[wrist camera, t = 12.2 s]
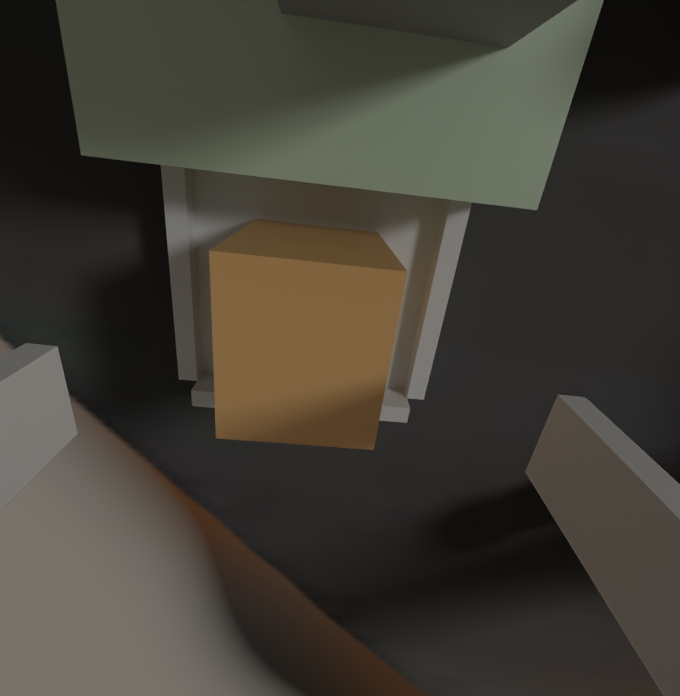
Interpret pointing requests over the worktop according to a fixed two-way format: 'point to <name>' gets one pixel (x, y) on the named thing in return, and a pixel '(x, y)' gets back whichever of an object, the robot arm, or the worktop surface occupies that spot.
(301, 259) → the cardboard box
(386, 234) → the pale green boxy piece
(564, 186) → the worktop surface
